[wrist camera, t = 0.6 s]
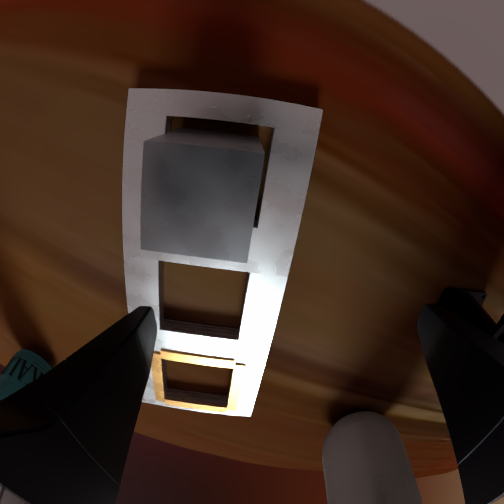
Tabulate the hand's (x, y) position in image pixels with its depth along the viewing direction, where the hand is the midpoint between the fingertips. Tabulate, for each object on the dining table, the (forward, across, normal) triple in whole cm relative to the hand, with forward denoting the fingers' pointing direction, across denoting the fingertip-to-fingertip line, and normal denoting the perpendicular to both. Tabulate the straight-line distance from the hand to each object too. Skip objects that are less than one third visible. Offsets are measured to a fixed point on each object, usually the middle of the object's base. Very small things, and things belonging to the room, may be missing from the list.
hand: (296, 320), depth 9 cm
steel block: (+13, +4, -2) cm, 14 cm away
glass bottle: (+14, -12, +28) cm, 34 cm away
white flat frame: (+13, +5, +8) cm, 16 cm away
